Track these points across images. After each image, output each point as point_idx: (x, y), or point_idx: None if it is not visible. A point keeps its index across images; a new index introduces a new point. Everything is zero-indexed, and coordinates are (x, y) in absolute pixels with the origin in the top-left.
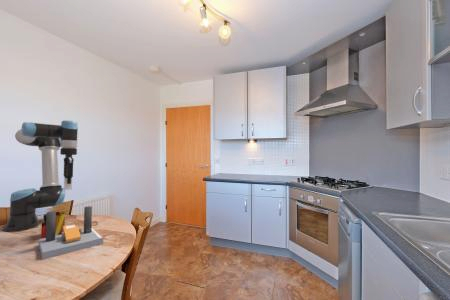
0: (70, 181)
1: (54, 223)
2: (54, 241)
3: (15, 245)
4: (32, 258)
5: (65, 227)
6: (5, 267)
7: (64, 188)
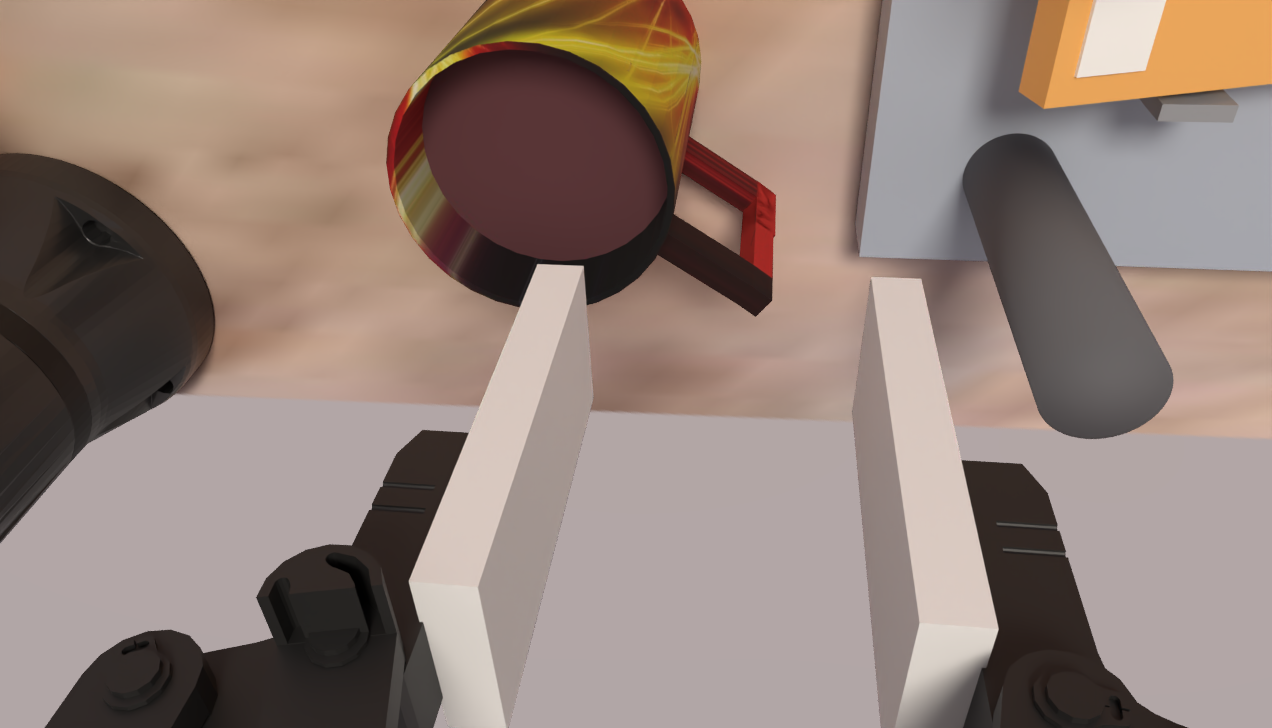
0: (1056, 545)
1: (1107, 255)
2: (1098, 147)
3: (688, 358)
4: (1195, 292)
5: (1092, 76)
6: (1193, 431)
7: (590, 391)
